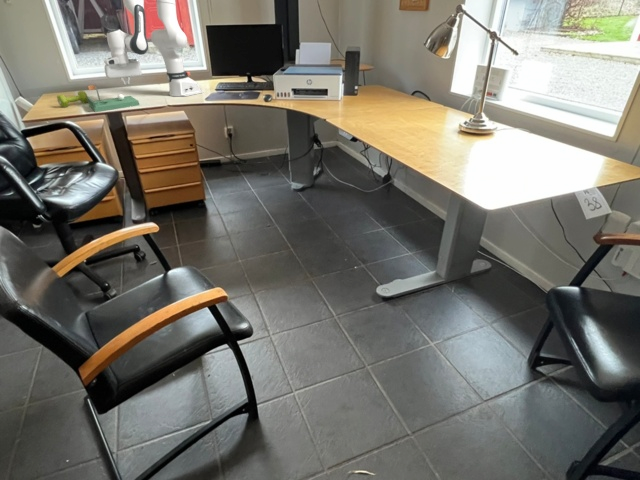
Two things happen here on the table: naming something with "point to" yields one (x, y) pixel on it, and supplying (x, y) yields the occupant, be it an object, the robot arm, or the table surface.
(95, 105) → the putting mat
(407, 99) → the table surface
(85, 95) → the dumbbell
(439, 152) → the table surface
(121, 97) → the ball
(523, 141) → the table surface
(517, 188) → the table surface
